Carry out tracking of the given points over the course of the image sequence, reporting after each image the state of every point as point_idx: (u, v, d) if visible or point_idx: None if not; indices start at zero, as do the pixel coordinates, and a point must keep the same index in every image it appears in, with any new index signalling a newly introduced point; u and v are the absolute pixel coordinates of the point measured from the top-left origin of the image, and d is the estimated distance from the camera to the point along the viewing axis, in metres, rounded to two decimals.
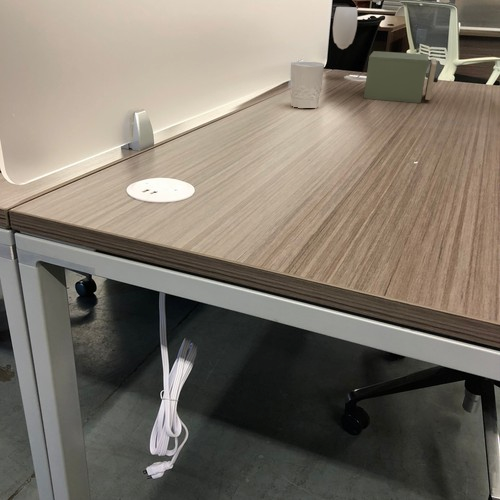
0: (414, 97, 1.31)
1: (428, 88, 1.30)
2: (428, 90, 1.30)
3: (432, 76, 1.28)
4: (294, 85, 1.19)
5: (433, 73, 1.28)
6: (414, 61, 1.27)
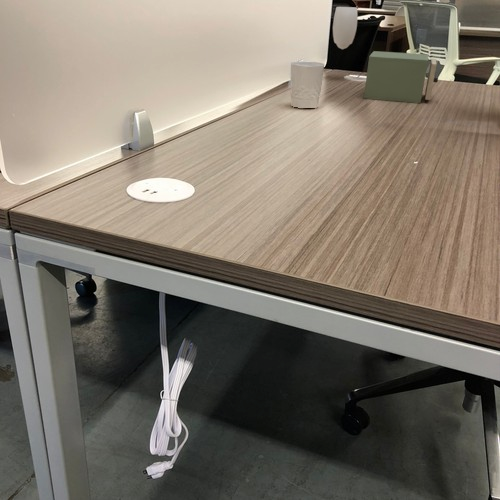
0: (414, 97, 1.31)
1: (428, 88, 1.30)
2: (428, 90, 1.30)
3: (432, 76, 1.28)
4: (294, 85, 1.19)
5: (433, 73, 1.28)
6: (414, 61, 1.27)
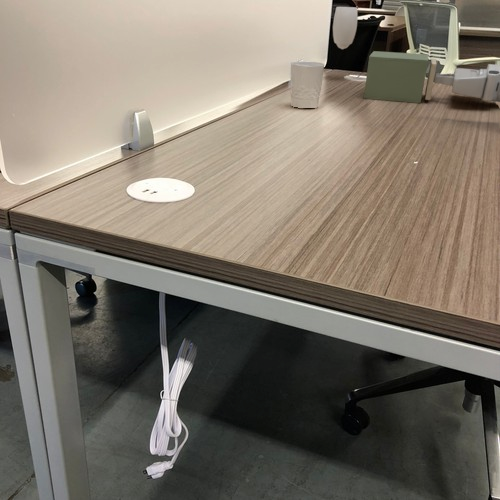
0: (414, 97, 1.31)
1: (428, 88, 1.30)
2: (428, 90, 1.30)
3: (432, 76, 1.28)
4: (294, 85, 1.19)
5: (433, 73, 1.28)
6: (414, 61, 1.27)
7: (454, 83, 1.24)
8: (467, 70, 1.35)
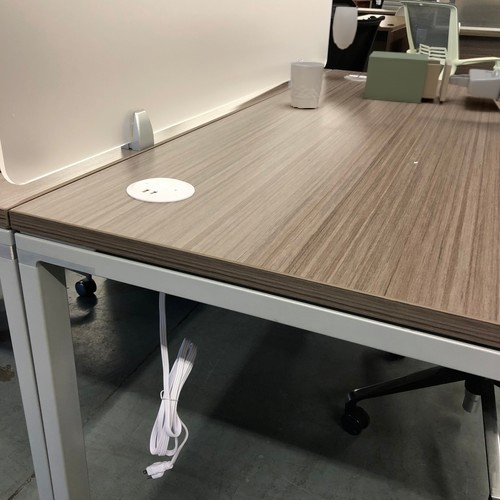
0: (414, 97, 1.31)
1: (443, 89, 1.29)
2: (443, 91, 1.29)
3: (447, 77, 1.27)
4: (294, 85, 1.19)
5: (448, 74, 1.27)
6: (414, 61, 1.27)
7: (470, 84, 1.23)
8: (482, 71, 1.34)
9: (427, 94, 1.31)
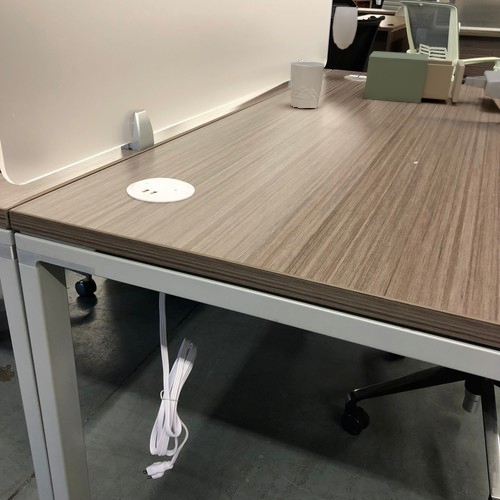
0: (414, 97, 1.31)
1: (456, 90, 1.28)
2: (456, 92, 1.28)
3: (460, 78, 1.27)
4: (294, 85, 1.19)
5: (461, 75, 1.26)
6: (414, 61, 1.27)
7: (487, 86, 1.21)
8: (498, 72, 1.33)
9: (439, 95, 1.30)
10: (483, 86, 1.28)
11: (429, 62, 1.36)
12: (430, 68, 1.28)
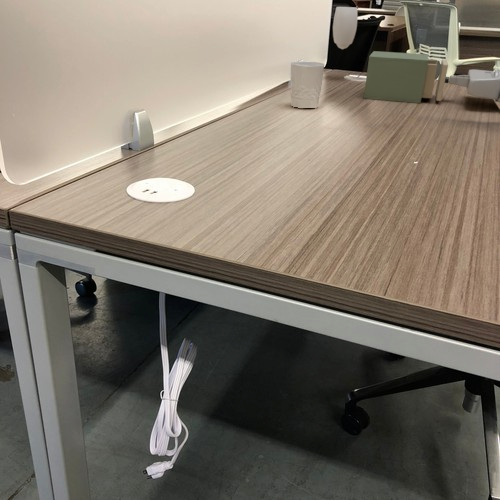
0: (414, 97, 1.31)
1: (439, 89, 1.29)
2: (439, 91, 1.29)
3: (443, 77, 1.28)
4: (294, 85, 1.19)
5: (444, 74, 1.27)
6: (414, 61, 1.27)
7: (470, 85, 1.22)
8: (481, 71, 1.34)
9: (423, 94, 1.31)
10: (466, 85, 1.29)
11: None
12: None
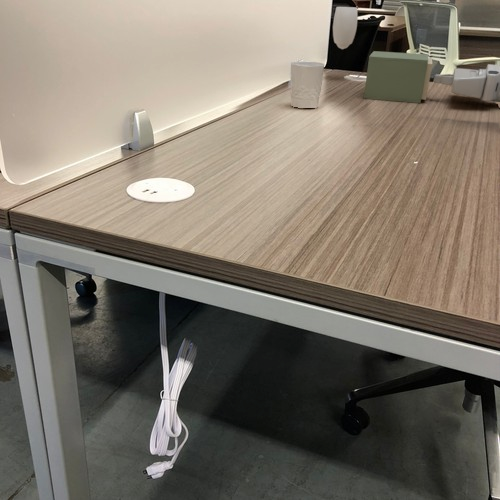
0: (414, 97, 1.31)
1: (424, 88, 1.30)
2: (424, 90, 1.30)
3: (428, 76, 1.28)
4: (294, 85, 1.19)
5: (429, 73, 1.28)
6: (414, 61, 1.27)
7: (453, 83, 1.24)
8: (466, 70, 1.35)
9: None
10: (451, 83, 1.30)
11: None
12: None
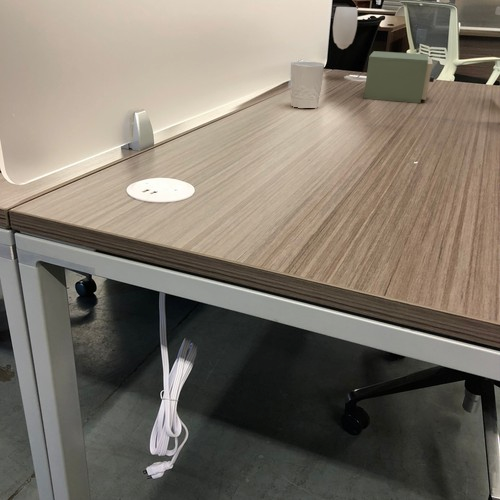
0: (414, 97, 1.31)
1: (424, 88, 1.30)
2: (424, 90, 1.30)
3: (428, 76, 1.28)
4: (294, 85, 1.19)
5: (429, 73, 1.28)
6: (414, 61, 1.27)
7: None
8: None
9: None
10: None
11: None
12: None
